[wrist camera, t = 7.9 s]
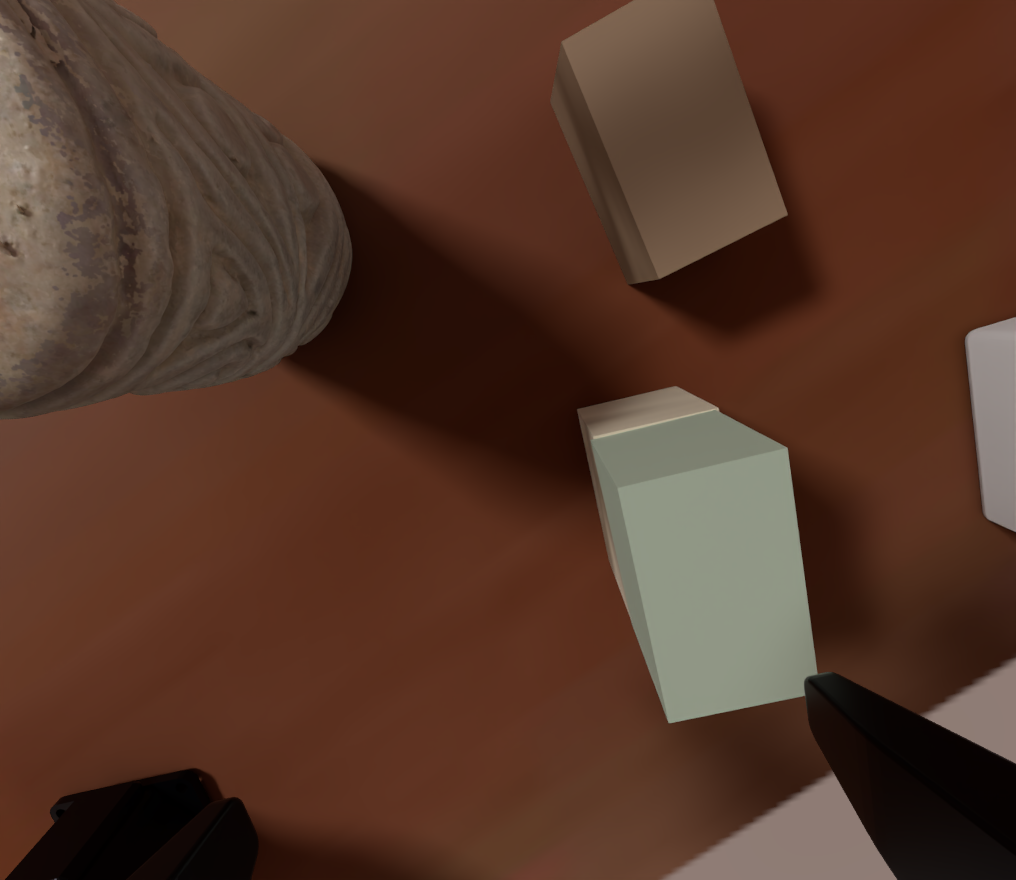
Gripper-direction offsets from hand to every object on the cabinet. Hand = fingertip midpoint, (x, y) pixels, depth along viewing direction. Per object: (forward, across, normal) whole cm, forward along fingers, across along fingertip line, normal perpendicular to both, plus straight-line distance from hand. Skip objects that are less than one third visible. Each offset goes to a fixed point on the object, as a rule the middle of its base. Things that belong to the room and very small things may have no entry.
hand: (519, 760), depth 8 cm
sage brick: (+8, -5, 0) cm, 9 cm away
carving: (+12, +6, -10) cm, 17 cm away
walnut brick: (+12, -7, -10) cm, 17 cm away
